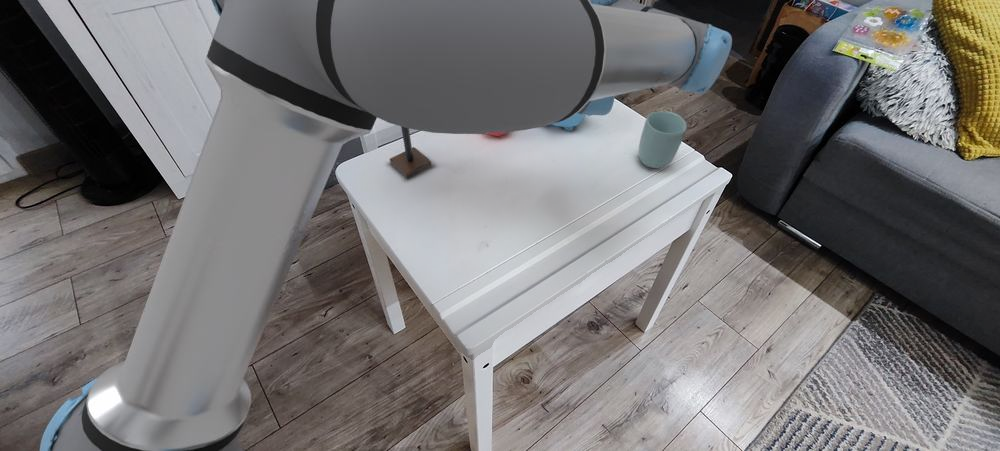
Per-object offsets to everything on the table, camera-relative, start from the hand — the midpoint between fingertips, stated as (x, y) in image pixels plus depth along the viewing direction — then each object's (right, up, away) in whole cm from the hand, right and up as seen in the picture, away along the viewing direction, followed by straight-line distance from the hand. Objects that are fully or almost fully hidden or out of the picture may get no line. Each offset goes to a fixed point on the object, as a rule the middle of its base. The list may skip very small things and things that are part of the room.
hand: (373, 58), depth 73 cm
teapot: (+34, -2, +34) cm, 48 cm away
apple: (+19, -5, +30) cm, 36 cm away
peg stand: (+2, -14, +21) cm, 26 cm away
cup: (+53, -13, +24) cm, 59 cm away
